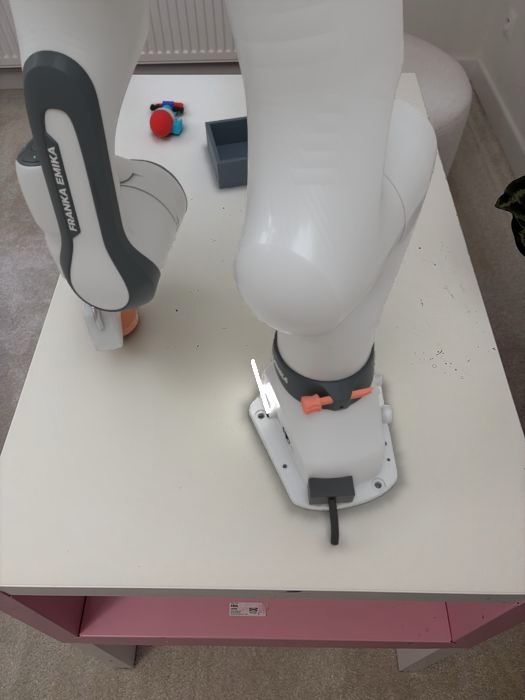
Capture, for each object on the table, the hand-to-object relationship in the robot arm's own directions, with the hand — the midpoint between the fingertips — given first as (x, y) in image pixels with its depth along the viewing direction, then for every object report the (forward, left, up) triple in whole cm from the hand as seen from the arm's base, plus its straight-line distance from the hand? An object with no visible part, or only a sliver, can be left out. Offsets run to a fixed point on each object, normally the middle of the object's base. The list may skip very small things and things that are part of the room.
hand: (114, 317), depth 79 cm
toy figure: (+52, -14, -2) cm, 54 cm away
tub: (+35, -28, -2) cm, 45 cm away
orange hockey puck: (0, 0, -2) cm, 2 cm away
